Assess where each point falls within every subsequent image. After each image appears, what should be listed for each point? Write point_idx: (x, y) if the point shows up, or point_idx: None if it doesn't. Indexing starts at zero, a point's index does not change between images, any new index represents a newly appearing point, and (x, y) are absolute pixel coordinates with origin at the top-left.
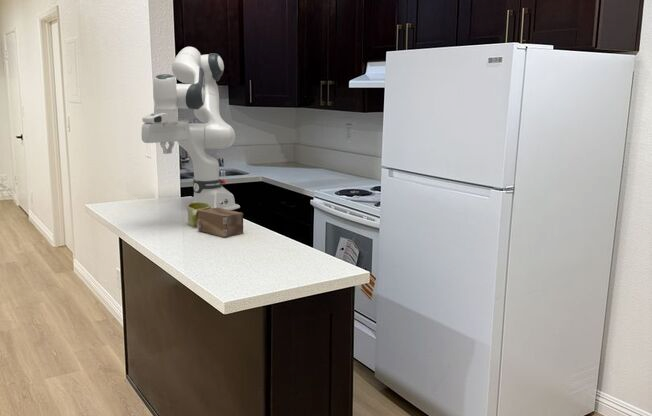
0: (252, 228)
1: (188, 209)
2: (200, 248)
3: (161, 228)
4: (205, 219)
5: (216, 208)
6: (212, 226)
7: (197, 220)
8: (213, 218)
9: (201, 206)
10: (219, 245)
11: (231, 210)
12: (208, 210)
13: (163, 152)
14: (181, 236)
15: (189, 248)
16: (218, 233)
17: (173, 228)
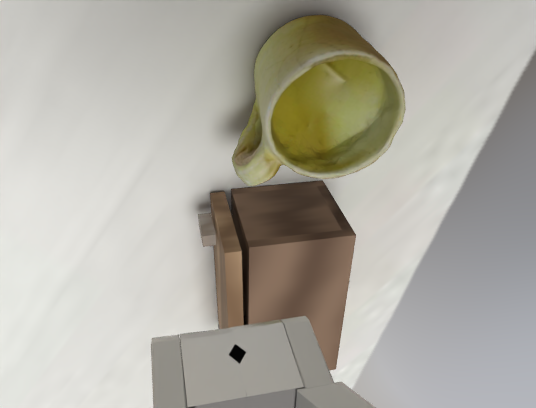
0: (388, 268)
1: (263, 107)
2: (70, 381)
3: (91, 17)
4: (221, 275)
5: (331, 251)
6: (219, 295)
7: (202, 238)
8: (225, 328)
9: (383, 72)
10: (144, 379)
11: (342, 316)
12: (271, 267)
13: (152, 355)
14: (97, 223)
15: (35, 367)
16: (218, 306)
17: (148, 65)
